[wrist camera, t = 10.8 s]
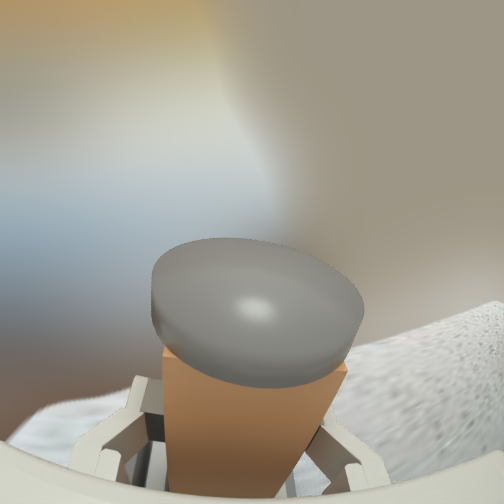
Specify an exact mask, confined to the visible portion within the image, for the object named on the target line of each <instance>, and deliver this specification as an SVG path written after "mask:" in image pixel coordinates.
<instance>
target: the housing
mask: <svg viewBox="0 0 504 504" xmlns="http://www.w3.org/2000/svg"><path fill="white" fill-rule="evenodd" d="M124 466H125V469H126V472H127V475H128V478H129V481H130V485H133V486H138V487H143V488H149V489H154V490H160V491H167V492H170V491H169V481H168V471H167V458H166V445H165V443H164V442H157V441H150V440H148V442H147V443H146V444H145V445H144V446H143V447H142V448H141V449H140V450H139V451H138V452H137V453H136V454H135V455H134V456H133V457H132V458H131V459H130V460H129V461H128V462H127V463H126V464H125V465H124ZM293 497H297V496H296V489H295V483H294V476H293V470H292V472H291V473H290V475H289V477H288V478H287V480H286V481H285V483H284V484H283V486H282V487H281V489H280V490H279V492H278V493H277V494H276V496H275V497H274V498H293Z"/></svg>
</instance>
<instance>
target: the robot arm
mask: <svg viewBox="0 0 504 504" xmlns="http://www.w3.org/2000/svg"><path fill="white" fill-rule="evenodd" d="M148 440H150V441H157V442H164V443H165V428H164V406H163V380H158V379H153V378H147V377H142V376H137V375H136V377H135V378H134V380H133V384H132V387H131V390H130V393H129V397H128V400H127V403H126V407H125V409H124V408H120V409H119V410H118V411H116V412H115V413H113V414H112V415H111V416H109V417H108V418H107V419H105V420H104V421H102V422H101V423H100V424H98V425H97V426H95V427H94V428H93V429H91V430H90V431H88V432H87V433H86V434H84V435H83V436H81V437H80V438H78V439H77V441H76V444H75V447H74V450H73V453H72V455H71V458H70V461H69V464H68V467H64V466H61V465H58V464H55V463H53V462H50V461H47V460H45V459H42V458H39V457H37V456H34V455H32V454H30V453H27V452H25V451H23V450H20V449H18V448H16V447H14V446H11V445H9V444H7V443H5V442H3V441H1V440H0V504H504V452H503V451H501V450H494V451H491V452H489V453H487V454H484V455H482V456H479V457H477V458H474V459H472V460H469V461H467V462H464V463H461V464H458V465H456V466H453V467H450V468H447V469H444V470H441V471H437V472H434V473H431V474H428V475H424V476H421V477H417V478H413V479H410V480H406V481H402V482H397V483H393V484H391V481H390V478H389V476H388V473H387V470H386V467H385V464H384V461H383V459H382V458H381V457H380V456H379V455H377V454H376V453H375V452H374V451H373V450H371V449H370V448H369V447H368V446H366V445H365V444H364V443H363V442H362V441H360V440H359V439H358V438H357V437H356V436H355V435H353V434H352V433H351V432H350V431H349V430H347V429H346V428H345V427H344V426H343V425H338V422H337V419H336V416H335V412H334V409H333V406H332V403H331V405H330V407H329V409H328V411H327V412H326V414H325V416H324V418H323V420H322V422H321V423H320V425H319V427H318V429H317V430H316V432H315V434H314V436H313V437H312V439H311V441H310V443H309V444H308V446H307V448H306V449H305V451H306V453H307V455H308V456H309V457H310V458H311V459H312V460H313V462H314V463H315V464H316V465H317V466H318V467H319V469H320V470H321V471H322V472H323V473H324V474H325V475H326V477H327V478H328V479H329V480H330V481H331V482H332V483H331V484H330V485H329V486H328V487H327V488H326V489H325V490H324V491H323V492H322V495H319V496H308V497H293V498H225V497H210V496H199V495H189V494H181V493H173V492H167V491H160V490H154V489H149V488H143V487H138V486H133V485H130V481H129V478H128V475H127V472H126V469H125V466H124V465H125V464H126V463H127V462H128V461H129V460H130V459H131V458H132V457H133V456H134V455H135V454H136V453H137V452H138V451H139V450H140V449H141V448H142V447H143V446H144V445H145V444H146V443H147V442H148Z"/></svg>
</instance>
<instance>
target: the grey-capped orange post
mask: <svg viewBox="0 0 504 504" xmlns="http://www.w3.org/2000/svg"><path fill="white" fill-rule="evenodd" d="M363 316H364V303H363V300H362V297H361V295H360V293H359V292H358V290H357V289H356V287H355V286H354V285H353V283H351V281H350V280H349V279H348V278H347V277H345V276H344V275H343V274H341V273H340V272H339V271H338V270H336V269H335V268H334V267H332V266H330V265H329V264H327V263H325V262H323V261H321V260H319V259H317V258H315V257H313V256H311V255H309V254H306V253H304V252H301V251H298V250H295V249H292V248H289V247H286V246H282V245H278V244H274V243H270V242H265V241H258V240H252V239H242V238H210V239H202V240H196V241H192V242H188V243H184V244H182V245H179V246H177V247H175V248H172V249H170V250H169V251H167V252H166V253H164V254H163V255H162V256H161V257H160V258H159V259H158V261H157V262H156V264H155V265H154V268H153V271H152V287H151V317H152V322H153V326H154V328H155V330H156V333H157V335H158V336H159V338H160V339H161V341H162V342H163V344H164V345H165V348H164V352H163V358H162V359H163V406H164V428H165V445H166V458H167V471H168V481H169V491H170V492H173V493H181V494H189V495H199V496H210V497H225V498H274V497H275V496H276V494H277V493H278V492H279V490H280V489H281V487H282V486H283V484H284V483H285V481H286V480H287V478H288V477H289V475H290V473H291V472H292V470H293V469H294V467H295V466H296V464H297V462H298V461H299V459H300V458H301V456H302V454H303V453H304V451H305V449H306V448H307V446H308V444H309V443H310V441H311V439H312V437H313V436H314V434H315V432H316V430H317V429H318V427H319V425H320V423H321V422H322V420H323V418H324V416H325V414H326V412H327V411H328V409H329V407H330V405H331V403H332V401H333V399H334V397H335V395H336V393H337V391H338V390H339V388H340V386H341V384H342V382H343V380H344V377H345V375H346V373H347V368H346V366H345V363H344V360H345V358H346V356H347V354H348V352H349V350H350V348H351V346H352V343H353V341H354V339H355V336H356V334H357V332H358V329H359V327H360V324H361V322H362V319H363Z"/></svg>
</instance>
